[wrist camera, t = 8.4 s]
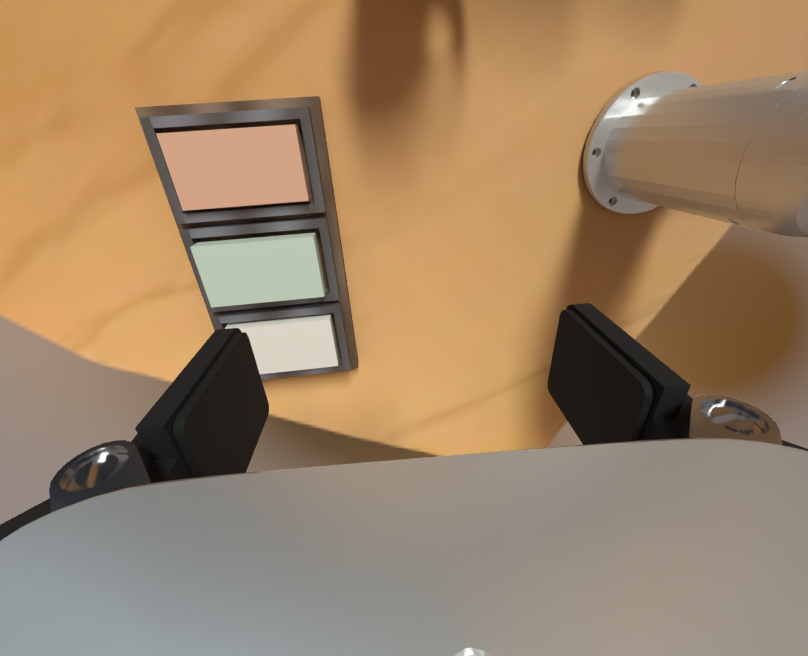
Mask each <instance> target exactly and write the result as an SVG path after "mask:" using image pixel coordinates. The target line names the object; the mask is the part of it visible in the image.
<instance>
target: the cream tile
mask: <svg viewBox="0 0 808 656" xmlns="http://www.w3.org/2000/svg"><path fill="white" fill-rule="evenodd" d="M229 328H239V329H240V330H241V332H245V333H247V335H248V337H249V340H250V343H251V347H252V350H253V353H254V357H255V360H256V364H257V367H258V370H259V374H268V373H277V372H287V371H296V370H305V369H315V368H324V367H334V366H338V364H339V355H338V349H337V344H336V338H335V332H334V326H333V321H332V315H331V313H326V314H316V315H306V316H295V317H285V318H275V319H265V320H254V321H244V322H234V323H228V324H227V326H226V327H225V329H229Z"/></svg>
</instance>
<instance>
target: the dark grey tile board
mask: <svg viewBox="0 0 808 656" xmlns="http://www.w3.org/2000/svg"><path fill="white" fill-rule="evenodd" d="M135 110H136V112H137V115H138V118H139V121H140V124H141V126H142V129H143V132H144V135H145V138H146V140H147V143H148V146H149V149H150V151H151V154H152V157H153V160H154V163H155V165H156V168H157V171H158V174H159V176H160V179H161V182H162V185H163V188H164V190H165V193H166V196H167V199H168V202H169V204H170V207H171V210H172V213H173V215H174V218H175V221H176V224H177V227H178V229H179V232H180V235H181V238H182V241H183V243H184V246H185V249H186V252H187V254H188V257H189V260H190V263H191V266H192V268H193V271H194V274H195V277H196V280H197V282H198V285H199V288H200V291H201V293H202V296H203V299H204V302H205V305H206V307H207V310H208V313H209V316H210V319H211V321H212V324H213V327H214V330H215V331H216V330H217V329H225V327H226V326H227V324H228V323H234V322H244V321H254V320H265V319H275V318H285V317H295V316H306V315H316V314H326V313H331V315H332V321H333V326H334V332H335V338H336V344H337V349H338V355H339V364H338V366H334V367H324V368H315V369H305V370H296V371H287V372H277V373H268V374H260V377H261V380H262V379H272V378H281V377H290V376H300V375H309V374H318V373H328V372H337V371H346V370H350V368H358V355H357V348H356V341H355V335H354V328H353V321H352V314H351V307H350V300H349V293H348V287H347V280H346V273H345V266H344V259H343V252H342V245H341V238H340V232H339V225H338V218H337V211H336V204H335V197H334V190H333V184H332V177H331V170H330V163H329V156H328V149H327V142H326V135H325V129H324V122H323V115H322V108H321V101H320V97H318V96H315V97H299V98H283V99H267V100H251V101H234V102H218V103H202V104H186V105H170V106H153V107H137V108H135ZM292 124H296V125H298V127H299V133H300V139H301V144H302V150H303V156H304V162H305V167H306V173H307V179H308V184H309V190H310V196H311V199H310V200H309V201H301V202H288V203H276V204H263V205H250V206H238V207H225V208H212V209H199V210H187V211H183V210H182V207H181V204H180V201H179V199H178V196H177V193H176V190H175V187H174V184H173V181H172V178H171V175H170V172H169V170H168V167H167V164H166V161H165V158H164V155H163V152H162V149H161V146H160V143H159V141H158V138H157V135H156V133H171V132H186V131H201V130H216V129H232V128H247V127H262V126H277V125H292ZM304 233H316V238H317V244H318V249H319V255H320V261H321V266H322V272H323V278H324V283H325V289H326V292H325V296H324V297H317V298H306V299H296V300H285V301H275V302H264V303H253V304H243V305H232V306H222V307H211V305H210V302H209V300H208V297H207V294H206V291H205V288H204V285H203V283H202V280H201V277H200V274H199V271H198V268H197V265H196V263H195V260H194V257H193V254H192V251H191V248H190V247H191V246H193V245H194V244H196V243H197V242H209V241H221V240H233V239H245V238H257V237H269V236H281V235H293V234H304Z"/></svg>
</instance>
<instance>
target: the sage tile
mask: <svg viewBox="0 0 808 656" xmlns="http://www.w3.org/2000/svg"><path fill="white" fill-rule="evenodd" d="M190 248H191V251H192V254H193V257H194V260H195V263H196V265H197V268H198V271H199V274H200V277H201V280H202V283H203V285H204V288H205V291H206V294H207V297H208V300H209V302H210V305H211V307H222V306H232V305H243V304H253V303H264V302H275V301H285V300H296V299H306V298H317V297H324V296H325V292H326V289H325V283H324V278H323V272H322V266H321V261H320V255H319V249H318V244H317V238H316V233H304V234H293V235H281V236H269V237H257V238H245V239H233V240H221V241H209V242H197V243H196V244H194V245H193V246H191V247H190Z"/></svg>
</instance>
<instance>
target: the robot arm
mask: <svg viewBox="0 0 808 656" xmlns="http://www.w3.org/2000/svg"><path fill="white" fill-rule="evenodd" d="M593 151H594V152H593ZM592 152H593V154H592ZM583 173H584V180H585V183H586V186H587V189H588V191H589V193H590V194H591V196H592V197H593V199H594V200H595V201H596V202H597V203H599V204H600V205H601V206H602V207H604V208H606V209H608V210H611V211H614V212H617V213H623V214H637V213H642V212H646V211H649V210H652V209H654V208H656V207H658V206H661V207H665V208H669V209H673V210H678V211H682V212H686V213H690V214H694V215H698V216H702V217H707V218H711V219H715V220H719V221H723V222H727V223H731V224H736V225H740V226H744V227H748V228H752V229H756V230H761V231H766V232H770V233H774V234H778V235H784V236H791V237H808V71H803V72H796V73H789V74H782V75H775V76H768V77H761V78H754V79H747V80H740V81H733V82H726V83H719V84H712V85H705V86H702V84H701V83H700V82H699V81H697V80H696V79H695V78H693V77H692V76H690V75H687V74H685V73H682V72H673V71H666V72H660V73H655V74H651V75H648V76H644V77H642V78H640V79H638V80H636V81H634V82H632V83H630V84H629V85H627V86H626V87H625V88H623V89H622V90H621V91H619V92H618V93H617V94H616V95H615V96H614V97H613V98H612V99H611V100H610V101H609V102H608V103H607V105H606V106H605V107H604V109H603V110H602V111H601V113H600V114H599V115H598V117H597V119H596V121H595V123H594V125H593V127H592V128H591V131H590V133H589V136H588V139H587V142H586V146H585V151H584V156H583ZM689 388H690V384H688V383H687V382H686V381H685V380H683V379H682V378H681V377H680V376H678V375H677V374H676V373H675V372H674V371H672V370H671V369H670V368H669V367H668V366H666V365H665V364H664V363H663V362H661V361H660V360H659V359H658V358H656V357H655V356H654V355H653V354H652V353H650V352H649V351H648V350H647V349H645V348H644V347H643V346H642V345H641V344H639V343H638V342H637V341H636V340H634V339H633V338H632V337H631V336H629V335H628V334H627V333H626V332H625V331H623V330H622V329H621V328H620V327H618V326H617V325H616V324H615V323H614V322H612V321H611V320H610V319H609V318H607V317H606V316H605V315H604V314H602V313H601V312H600V311H599V310H598V309H596V308H595V307H594V306H593V305H591V304H575V305H569V306H567V308H566V310H563V311H562V312H561V314H560V318H559V324H558V329H557V334H556V340H555V345H554V351H553V356H552V362H551V367H550V373H549V378H548V390H549V393H550V394H551V396H552V398H553V399H554V401H555V402H556V404H557V405H558V407H559V408H560V410H561V411H562V413H563V414H564V416H565V417H566V419H567V421H568V422H569V424H570V425H571V427H572V428H573V430H574V431H575V433H576V434H577V436H578V437H579V439H580V440H581V442H582V444H583V445H576V446H563V447H551V448H537V449H525V450H513V451H500V452H488V453H476V454H464V455H452V456H440V457H427V458H415V459H404V460H392V461H378V462H366V463H354V464H342V465H329V466H319V467H306V468H295V469H284V470H273V471H261V472H249V473H246V470H247V468H248V465H249V462H250V460H251V457H252V455H253V452H254V450H255V447H256V444H257V442H258V439H259V437H260V434H261V432H262V429H263V427H264V424H265V422H266V419H267V417H268V413H269V405H268V401H267V397H266V394H265V390H264V387H263V384H262V380H261V377H260V374H259V370H258V367H257V364H256V360H255V357H254V353H253V350H252V347H251V343H250V340H249V337H248V335H247V333H245V332H241V330H240V329H239V328H229V329H217V330H216V331H215V332H214V333H213V334H212V335H211V337H210V338H209V339H208V340H207V341H206V343H205V344H204V345H203V346H202V347H201V349H200V350H199V351H198V352H197V354H196V355H195V356H194V357H193V358H192V360H191V361H190V362H189V363H188V365H187V366H186V367H185V368H184V369H183V371H182V372H181V373H180V374H179V375H178V377H177V378H176V379H175V380H174V382H173V383H172V384H171V385H170V386H169V388H168V389H167V390H166V391H165V393H164V394H163V395H162V397H160V399H159V400H158V401H157V402H156V404H155V405H154V406H153V407H152V408H151V410H150V411H149V412H148V413H147V414H146V416H145V417H144V418H143V419H142V420H141V422H140V423H139V424H138V425H137V427H136V428H135V429H136V431H137V433H138V434H137V435H136V436H135V438H134V439H133V440H132V441H131V442H130V441H126V440H117V441H111V442H107V443H103V444H100V445H97V446H95V447H92V448H90V449H88V450H86V451H84V452H83V453H81V454H79V455H77V456H76V457H74V458H73V459H72V460H70V461H69V462H67V463H66V464H65V465H64V466H63V467H62V468H61V469H60V470H59V471H58V472H57V473H56V475H55V476H54V477H53V479H52V481H51V483H50V488H49V494H50V499H48V500H46V501H44V502H42V503H41V504H38V505H37V506H35V507H33V508H31V509H29V510H27V511H25V512H24V513H22V514H20V515H18V516H16V517H14V518H12V519H11V520H9V521H7V522H5V523H3V524H1V525H0V656H808V449H806V448H803V447H800V446H797V445H795V444H791V443H789V442H786V441H783V440H782V439H781V434H780V429H779V427H778V426H777V424H776V422H775V421H774V420H773V419H772V418H771V417H770V416H769V415H768V414H766V413H765V412H763V411H762V410H760V409H759V408H757V407H755V406H753V405H751V404H749V403H747V402H744V401H741V400H738V399H736V398H732V397H728V396H723V395H716V394H706V395H700V396H698V397H696V398H694V400H693V399H692V398H691V397H690V396H689V395H688V394H687V393H688V390H689Z"/></svg>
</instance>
